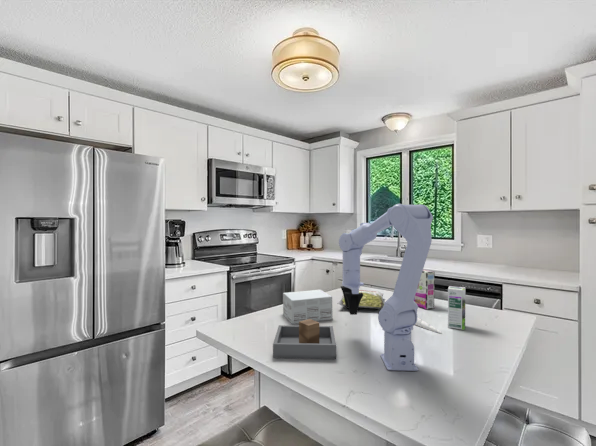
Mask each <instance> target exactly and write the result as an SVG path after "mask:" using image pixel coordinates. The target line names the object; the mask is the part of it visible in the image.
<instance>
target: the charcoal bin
mask: <svg viewBox="0 0 596 446" xmlns="http://www.w3.org/2000/svg"><path fill="white" fill-rule="evenodd" d="M333 327H334V326H333V325H319V344H317V343H299V325H285V324H284V325H281V324H280V325H278V327H277V331H276V334H275V337H274V340H273V343H272V358H273V359H306V360H308V359H311V360H313V359H314V360H315V359H316V360H318V359H319V360H336V359H337V344H336V343H337V342H336V337H335V332H334V331H335V330H334V328H333Z"/></svg>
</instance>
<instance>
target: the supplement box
mask: <svg viewBox="0 0 596 446" xmlns="http://www.w3.org/2000/svg"><path fill="white" fill-rule="evenodd" d="M282 315H283V316H284V317H285V318H286V319H287V320H288V321H289V322H290V323H291V324H292V325H293V324H295V325H296V324H299V322H300V321H304V320H308V319H312V320H314V321H317V322H319V321H329V320H333V296H332V295H331V294H329V293H327V292H325V291H324V290H323V289H312V290H300V291H289V292H283V293H282Z"/></svg>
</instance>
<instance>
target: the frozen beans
mask: <svg viewBox="0 0 596 446" xmlns="http://www.w3.org/2000/svg"><path fill="white" fill-rule="evenodd" d="M359 293H363V297H362V299H361V301H360V303H359V307H358V308H365V309H376V310H381V309H382V308H383V306H384V303H385V302H384V300H383V297H384V293H382V292H379V291H374V290H363V289H359ZM337 305H340V306H342V307H346V305H345V300H344V295H343V294H342V296H341V299H340V301H338V302H337Z"/></svg>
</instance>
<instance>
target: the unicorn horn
mask: <svg viewBox="0 0 596 446" xmlns="http://www.w3.org/2000/svg"><path fill="white" fill-rule="evenodd" d="M414 326H416V327H419V328H421V329H422V328H423V329H425V330H428V331H431V332H434V333H437V334H442V331H440V330H439V329H438V328H436V327H434V326H433V325H430V323H428V322H426V321H425V320H423V319H421V318H419V317H418V316H417V322H416V324H415V325H414Z"/></svg>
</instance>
